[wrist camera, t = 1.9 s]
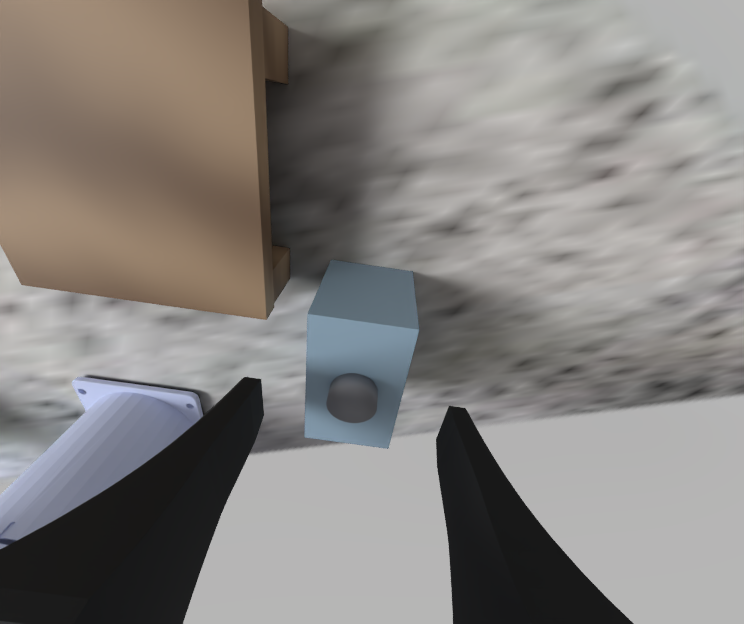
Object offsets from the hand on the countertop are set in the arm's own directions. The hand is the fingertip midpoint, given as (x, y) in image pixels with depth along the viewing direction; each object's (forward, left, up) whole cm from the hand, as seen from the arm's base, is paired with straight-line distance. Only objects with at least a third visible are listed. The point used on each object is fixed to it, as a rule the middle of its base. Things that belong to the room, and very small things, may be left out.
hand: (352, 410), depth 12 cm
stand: (+7, +9, -6) cm, 13 cm away
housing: (0, 0, -6) cm, 6 cm away
